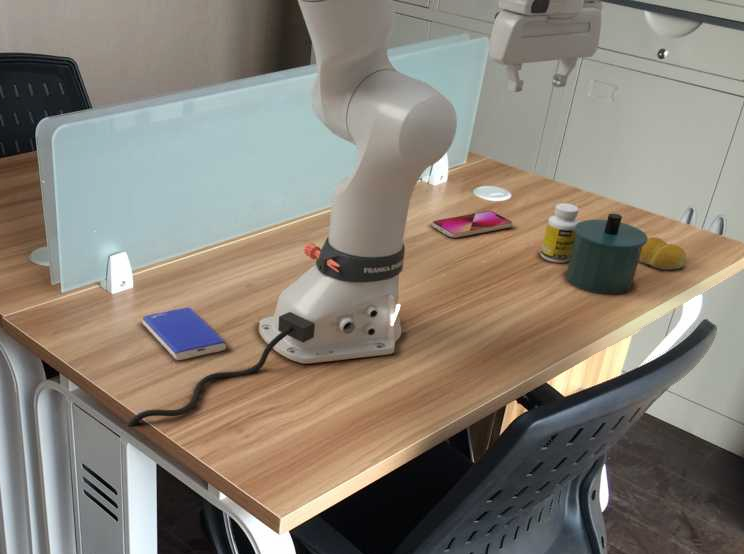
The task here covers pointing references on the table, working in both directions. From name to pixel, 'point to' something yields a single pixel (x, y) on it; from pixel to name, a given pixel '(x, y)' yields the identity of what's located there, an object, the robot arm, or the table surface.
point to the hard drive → (183, 333)
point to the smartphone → (471, 224)
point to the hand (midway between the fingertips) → (536, 88)
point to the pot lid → (611, 233)
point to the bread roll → (662, 254)
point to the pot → (602, 267)
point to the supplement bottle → (560, 234)
